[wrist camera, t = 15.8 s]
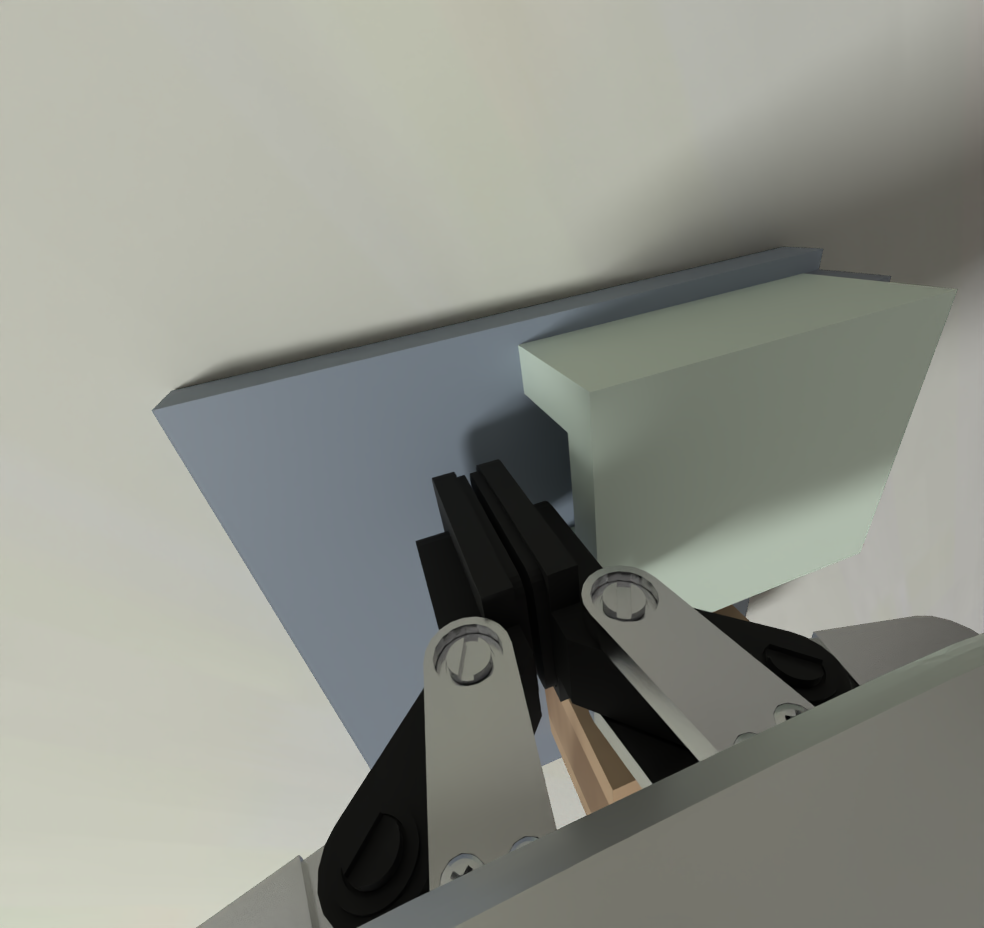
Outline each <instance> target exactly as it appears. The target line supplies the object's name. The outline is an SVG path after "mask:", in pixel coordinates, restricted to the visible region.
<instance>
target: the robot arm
mask: <svg viewBox="0 0 984 928" xmlns="http://www.w3.org/2000/svg"><path fill="white" fill-rule="evenodd" d="M470 482H471V485H470V483H469V482H468V480H467V478H466V476H465V475H462V476H459V477H457V475H456V474H455V472H451V473H447V474H443V475H440V476H436V477H433V478H432V483H433V487H434V492H435V496H436V500H437V504H438V508H439V512H440V516H441V520H442V524H443V528H444V532H443V533H439V534H436V535H433V536H430V537H427V538H423V539H420V540H417V541H415V542H416V546H417V550H418V553H419V557H420V561H421V565H422V568H423V572H424V576H425V580H426V583H427V587H428V591H429V595H430V598H431V602H432V606H433V610H434V613H435V617H436V621H437V625H438V628H439V631H438V632H437V633H436V634H435V636H434V637H433V638H432V639H431V640H430V642H429V644H428V646H427V648H426V650H425V655H424V662H423V672H424V688H423V690H422V691H421V693H420V694H419V696H418V698H417V699H416V701H415V702H414V704H413V705H412V707H411V708H410V710H409V712H408V713H407V715H406V716H405V718H404V719H403V721H402V722H401V724H400V725H399V727H398V729H397V730H396V732H395V733H394V735H393V736H392V738H391V739H390V741H389V743H388V744H387V746H386V747H385V749H384V750H383V752H382V753H381V755H380V757H379V758H378V760H377V761H376V763H375V764H374V766H373V767H372V769H371V771H370V772H369V774H368V775H367V777H366V778H365V780H364V781H363V783H362V784H361V786H360V788H359V789H358V791H357V792H356V794H355V795H354V797H353V798H352V800H351V802H350V803H349V805H348V806H347V808H346V809H345V811H344V812H343V814H342V816H341V817H340V819H339V820H338V822H337V823H336V825H335V826H334V828H333V830H332V832H331V834H330V836H329V838H328V840H327V842H326V844H325V845H324V846H323V847H321V848H320V849H318V850H317V851H316V852H314V853H313V854H311V855H310V856H309V857H307V858H306V859H304V860H303V859H302V857H301V856H300V855H298V856H297V857H295V858H294V859H293V860H291V861H290V862H288V863H287V864H286V865H284V866H283V867H281V868H280V869H279V870H277V871H276V872H274V873H273V874H271V875H270V876H269V877H267V878H266V879H264V880H263V881H262V882H260V883H259V884H257V885H256V886H255V887H253V888H252V889H250V890H249V891H247V892H246V893H245V894H243V895H242V896H240V897H239V898H238V899H236V900H235V901H233V902H232V903H231V904H229V905H228V906H226V907H225V908H223V909H222V910H221V911H219V912H218V913H216V914H215V915H214V916H212V917H211V918H209V919H208V920H207V921H205V922H204V923H202V924H201V925H199V926H198V927H197V928H984V633H982V634H978V633H976V632H975V631H973V630H971V629H970V628H967V627H965V626H963V625H960V624H958V623H956V622H953V621H951V620H947V619H943V618H938V617H934V616H912V617H906V618H899V619H893V620H886V621H880V622H873V623H867V624H860V625H854V626H847V627H841V628H834V629H828V630H821V631H815V632H813V635H812V638H809V639H808V638H807V637H804V636H801V635H798V634H795V633H792V632H789V631H785V630H781V629H777V628H773V627H769V626H765V625H761V624H757V623H753V622H749V621H745V620H741V619H737V618H733V617H729V616H725V615H721V614H717V613H713V612H708V611H704V610H700V609H696V608H693V607H691V606H690V605H689V604H688V603H687V602H685V601H684V600H683V599H682V598H680V597H679V596H678V595H677V594H675V593H674V592H673V591H672V590H671V589H669V588H668V587H667V586H666V585H664V584H663V583H662V582H661V581H659V580H658V579H657V578H656V577H654V576H653V575H651V574H649V573H648V572H646V571H644V570H641V569H638V568H635V567H630V566H622V565H619V566H608V567H605V568H602V566H601V565H600V564H599V563H598V561H597V560H596V559H595V558H594V556H593V555H592V554H591V553H590V552H589V550H588V549H587V548H586V547H585V545H584V544H583V543H582V542H581V540H580V539H579V538H578V537H577V536H576V534H575V533H574V532H573V531H572V529H571V528H570V527H569V526H568V524H567V523H566V522H565V521H564V519H563V518H562V517H561V516H560V515H559V513H558V512H557V511H556V510H555V508H554V507H553V506H552V505H551V504H550V503H549V502H548V501H542V502H539V503H536V504H532V502H531V501H530V500H529V498H528V497H527V496H526V494H525V493H524V492H523V490H522V489H521V488H520V486H519V485H518V484H517V482H516V481H515V479H514V478H513V477H512V475H511V474H510V473H509V471H508V470H507V469H506V467H505V466H504V465H503V463H502V462H501V461H500V460H499V459H497V460H493V461H490V462H486V463H483V464H479V465H476V472H473V473H470ZM537 675H538V677H539V679H540V681H541V683H542V685H543V687H544V688H545V689H548V688H550V687H554V689H555V691H556V694H557V696H558V698H559V700H560V702H562V701H565V700H567V699H569V698H570V700H571V702H572V704H575V705H577V706H580V707H583V708H585V709H588V710H589V713H590V715H591V717H592V719H593V721H594V723H595V724H596V726H597V727H598V728H599V730H600V731H601V732H602V734H603V735H604V737H605V738H606V739H607V741H608V742H609V743H610V745H611V746H612V748H613V749H614V750H615V752H616V753H617V755H618V756H619V757H620V759H621V760H622V761H623V763H624V764H625V766H626V767H627V768H628V770H629V771H630V772H631V774H632V775H633V777H634V778H635V779H636V781H637V782H638V783H639V785H640V786H641V788H642V789H641V790H639V791H637V792H635V793H633V794H631V795H629V796H627V797H624V798H622V799H620V800H618V801H616V802H614V803H612V804H610V805H608V806H606V807H604V808H601V809H599V810H597V811H595V812H593V813H591V814H589V815H587V816H585V817H583V818H581V819H578V820H576V821H574V822H572V823H570V824H568V825H566V826H564V827H562V828H560V829H558V830H557V829H556V825H555V820H554V816H553V812H552V808H551V804H550V800H549V795H548V791H547V787H546V783H545V779H544V775H543V770H542V766H541V762H540V758H539V754H538V750H537V745H536V741H535V737H534V735H535V732H536V730H537V727H538V725H539V722H540V720H541V717H542V712H541V705H540V698H539V685H538V678H537Z"/></svg>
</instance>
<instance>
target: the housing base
mask: <svg viewBox="0 0 984 928" xmlns="http://www.w3.org/2000/svg"><path fill="white" fill-rule="evenodd" d="M822 252H823V249H820V248H799V247H780V248H776V249H772V250H768V251H763V252H759V253H755V254H751V255H746V256H742V257H738V258H734V259H729V260H725V261H721V262H717V263H713V264H708V265H704V266H700V267H696V268H691V269H687V270H683V271H679V272H674V273H670V274H666V275H662V276H657V277H653V278H649V279H645V280H640V281H636V282H632V283H628V284H623V285H619V286H615V287H611V288H606V289H602V290H598V291H594V292H589V293H585V294H581V295H577V296H572V297H568V298H564V299H560V300H555V301H551V302H547V303H543V304H538V305H534V306H530V307H526V308H521V309H517V310H513V311H509V312H504V313H500V314H496V315H492V316H487V317H483V318H479V319H475V320H470V321H466V322H462V323H458V324H453V325H449V326H445V327H441V328H436V329H432V330H428V331H424V332H419V333H415V334H411V335H407V336H402V337H398V338H394V339H390V340H385V341H381V342H377V343H373V344H369V345H364V346H360V347H356V348H352V349H347V350H343V351H339V352H335V353H330V354H326V355H322V356H318V357H313V358H309V359H305V360H301V361H296V362H292V363H288V364H284V365H279V366H275V367H271V368H267V369H262V370H258V371H254V372H250V373H245V374H241V375H237V376H233V377H228V378H224V379H220V380H216V381H211V382H207V383H203V384H199V385H194V386H190V387H186V388H182V389H177V390H173V391H171V392H170V393H169V394H168V395H167V396H166V397H165V398H164V399H163V400H162V401H161V402H160V403H159V404H158V405H157V406H156V407H155V408H154V409H153V410H152V412H153V414H154V415H155V417H156V418H157V420H158V422H159V423H160V425H161V427H162V428H163V430H164V432H165V433H166V435H167V436H168V438H169V440H170V441H171V443H172V445H173V446H174V448H175V450H176V451H177V453H178V455H179V456H180V458H181V459H182V461H183V463H184V464H185V466H186V468H187V469H188V471H189V473H190V474H191V476H192V477H193V479H194V481H195V482H196V484H197V486H198V487H199V489H200V491H201V492H202V494H203V495H204V497H205V499H206V500H207V502H208V504H209V505H210V507H211V509H212V510H213V512H214V513H215V515H216V517H217V518H218V520H219V522H220V523H221V525H222V527H223V528H224V530H225V531H226V533H227V535H228V536H229V538H230V540H231V541H232V543H233V545H234V546H235V548H236V550H237V551H238V553H239V554H240V556H241V558H242V559H243V561H244V563H245V564H246V566H247V568H248V569H249V571H250V572H251V574H252V576H253V577H254V579H255V581H256V582H257V584H258V586H259V587H260V589H261V590H262V592H263V594H264V595H265V597H266V599H267V600H268V602H269V604H270V605H271V607H272V608H273V610H274V612H275V613H276V615H277V617H278V618H279V620H280V622H281V623H282V625H283V626H284V628H285V630H286V631H287V633H288V635H289V636H290V638H291V640H292V641H293V643H294V644H295V646H296V648H297V649H298V651H299V653H300V654H301V656H302V658H303V659H304V661H305V663H306V664H307V666H308V667H309V669H310V671H311V672H312V674H313V676H314V677H315V679H316V681H317V682H318V684H319V685H320V687H321V689H322V690H323V692H324V694H325V695H326V697H327V699H328V700H329V702H330V703H331V705H332V707H333V708H334V710H335V712H336V713H337V715H338V717H339V718H340V720H341V721H342V723H343V725H344V726H345V728H346V730H347V731H348V733H349V735H350V736H351V738H352V739H353V741H354V743H355V744H356V746H357V748H358V749H359V751H360V753H361V754H362V756H363V757H364V759H365V761H366V762H367V764H368V766H369V767H370V769H372V767H373V766H374V764H375V763H376V761H377V760H378V758H379V757H380V755H381V753H382V752H383V750H384V749H385V747H386V746H387V744H388V743H389V741H390V739H391V738H392V736H393V735H394V733H395V732H396V730H397V729H398V727H399V725H400V724H401V722H402V721H403V719H404V718H405V716H406V715H407V713H408V712H409V710H410V708H411V707H412V705H413V704H414V702H415V701H416V699H417V698H418V696H419V694H420V693H421V691H422V690H423V688H424V672H423V662H424V655H425V650H426V648H427V646H428V644H429V642H430V640H431V639H432V638H433V637H434V636H435V634H436V633H437V632H438V631H439V628H438V625H437V621H436V617H435V613H434V610H433V606H432V602H431V598H430V595H429V591H428V587H427V583H426V580H425V576H424V572H423V568H422V565H421V561H420V557H419V553H418V550H417V546H416V542H415V541H417V540H420V539H423V538H427V537H430V536H433V535H436V534H439V533H443V532H444V528H443V524H442V520H441V516H440V512H439V508H438V504H437V500H436V496H435V492H434V487H433V483H432V478H433V477H436V476H440V475H443V474H447V473H451V472H455V474H456V475H457V477H459V476H462V475H465V476H466V478H467V480H468V482H469V483H470V485H471V482H470V473H473V472H476V465H479V464H483V463H486V462H490V461H493V460H497V459H499V460H500V461H501V462H502V463H503V465H504V466H505V467H506V469H507V470H508V471H509V473H510V474H511V475H512V477H513V478H514V479H515V481H516V482H517V484H518V485H519V486H520V488H521V489H522V490H523V492H524V493H525V494H526V496H527V497H528V498H529V500H530V501H531V502H532V504H536V503H539V502H542V501H548V502H549V503H550V504H551V505H552V506H553V507H554V508H555V510H556V511H557V512H558V513H559V515H560V516H561V517H562V518H563V519H564V521H565V522H566V523H567V524H568V526H569V527H570V528H571V527H574V526H575V521H574V507H573V494H572V481H571V468H570V455H569V442H568V432H566V431H565V430H564V429H563V428H562V427H561V426H560V425H559V424H558V423H556V422H555V421H554V420H553V419H552V418H551V417H550V416H549V415H548V414H546V413H545V412H544V411H543V410H542V409H541V408H540V407H539V406H538V405H536V404H535V403H534V402H533V401H532V400H531V399H530V398H529V397H528V396H526V395H525V394H524V387H523V380H522V372H521V364H520V356H519V348H518V345H520V344H524V343H528V342H532V341H536V340H540V339H544V338H548V337H552V336H556V335H560V334H564V333H568V332H572V331H576V330H580V329H584V328H588V327H592V326H596V325H600V324H604V323H608V322H612V321H616V320H620V319H624V318H628V317H632V316H636V315H639V314H643V313H647V312H651V311H655V310H659V309H663V308H667V307H671V306H675V305H679V304H683V303H687V302H691V301H695V300H699V299H703V298H707V297H711V296H715V295H719V294H723V293H727V292H731V291H735V290H739V289H743V288H747V287H751V286H755V285H759V284H763V283H767V282H771V281H775V280H779V279H783V278H787V277H791V276H795V275H799V274H803V273H805V274H815V275H824V276H834V277H844V278H854V279H863V280H873V281H883V282H890V279H891V276H885V275H874V274H863V273H852V272H841V271H830V270H819V267H820V262H821V257H822ZM749 598H750V597H749ZM749 598H747V599H744V600H742V601H739V602H737V603H734V604H732V605H733V606H734V607H735V608H736V609H737V610H738V611H739V612H740V613H742V614H743V615H744V616H745V617H746V612H747V607H748V603H749ZM537 678H538V685H539V698H540V705H541V712H542V717H541V720H540V722H539V725H538V727H537V730H536V732H535V735H534V737H535V741H536V745H537V750H538V754H539V758H540V762H541V766H543V765H545V764H548V763H550V762H552V761H555V760H557V759H559V758H561V757H562V756H561V754H560V751H559V749H558V746H557V744H556V742H555V739H554V737H553V735H552V732H551V727H550V720H549V714H548V708H547V701H546V695H545V689H544V687H543V685H542V683H541V681H540V679H539V677H538V675H537Z"/></svg>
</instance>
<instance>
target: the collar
mask: <svg viewBox="0 0 984 928" xmlns="http://www.w3.org/2000/svg"><path fill="white" fill-rule="evenodd" d="M713 613H717V614H721V615H725V616H729V617H733V618H737V619H741V620H745V621H749V620H748V619H747V618H746V617H745V616H744V615H743V614H742V613H740V612H739V611H738V610H737V609H736V608H735V607H734V606H733V605H729V606H727V607H724V608H722V609H719V610H717V611H714V612H713ZM749 622H750V621H749ZM544 689H545V688H544ZM545 695H546V701H547V708H548V714H549V720H550V727H551V732H552V735H553V737H554V739H555V742H556V744H557V746H558V749H559V751H560V754H561V756H562V758H563V761H564V763H565V765H566V768H567V770H568V773H569V775H570V777H571V780H572V782H573V784H574V787H575V789H576V791H577V794H578V796H579V799H580V801H581V803H582V806H583V808H584V810H585V813H586V815H589V814H591V813H593V812H595V811H597V810H599V809H601V808H604V807H606V806H608V805H610V804H612V803H614V802H616V801H618V800H620V799H622V798H624V797H627V796H629V795H631V794H633V793H635V792H637V791H639V790H641V789H642V788H641V786H640V785H639V783H638V782H637V781H636V779H635V778H634V777H633V775H632V774H631V772H630V771H629V770H628V768H627V767H626V766H625V764H624V763H623V761H622V760H621V759H620V757H619V756H618V755H617V753H616V752H615V750H614V749H613V748H612V746H611V745H610V743H609V742H608V741H607V739H606V738H605V737H604V735H603V734H602V732H601V731H600V730H599V728H598V727H597V726H596V724H595V723H594V721H593V719H592V717H591V715H590V713H589V710H588V709H585V708H583V707H580V706H577V705H575V704H572V702H571V700H570V698H569V699H567V700H565V701H562V702H560V700H559V698H558V696H557V694H556V691H555V689H554V687H550V688H548V689H545Z"/></svg>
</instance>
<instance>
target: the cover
mask: <svg viewBox="0 0 984 928" xmlns="http://www.w3.org/2000/svg"><path fill="white" fill-rule="evenodd" d="M957 290H958V289H951V288H942V287H932V286H922V285H912V284H902V283H893V282H883V281H873V280H863V279H854V278H844V277H834V276H824V275H815V274H805V273H803V274H799V275H795V276H791V277H787V278H783V279H779V280H775V281H771V282H767V283H763V284H759V285H755V286H751V287H747V288H743V289H739V290H735V291H731V292H727V293H723V294H719V295H715V296H711V297H707V298H703V299H699V300H695V301H691V302H687V303H683V304H679V305H675V306H671V307H667V308H663V309H659V310H655V311H651V312H647V313H643V314H639V315H636V316H632V317H628V318H624V319H620V320H616V321H612V322H608V323H604V324H600V325H596V326H592V327H588V328H584V329H580V330H576V331H572V332H568V333H564V334H560V335H556V336H552V337H548V338H544V339H540V340H536V341H532V342H528V343H524V344H520V345H518V348H519V356H520V364H521V372H522V380H523V387H524V394H525V395H526V396H528V397H529V398H530V399H531V400H532V401H533V402H534V403H535V404H536V405H538V406H539V407H540V408H541V409H542V410H543V411H544V412H545V413H546V414H548V415H549V416H550V417H551V418H552V419H553V420H554V421H555V422H556V423H558V424H559V425H560V426H561V427H562V428H563V429H564V430H565V431H566V432H568V442H569V455H570V468H571V481H572V494H573V507H574V521H575V526H574V527H571V529H572V531H573V532H574V533H575V534H576V536H577V537H578V538H579V539H580V540H581V542H582V543H583V544H584V545H585V547H586V548H587V549H588V550H589V552H590V553H591V554H592V555H593V556H594V558H595V559H596V560H597V561H598V563H599V564H600V565H601V566H602V568H605V567H608V566H619V565H622V566H630V567H635V568H638V569H641V570H644V571H646V572H648V573H649V574H651V575H653V576H654V577H656V578H657V579H658V580H659V581H661V582H662V583H663V584H664V585H666V586H667V587H668V588H669V589H671V590H672V591H673V592H674V593H675V594H677V595H678V596H679V597H680V598H682V599H683V600H684V601H685V602H687V603H688V604H689V605H690V606H691V607H693V608H696V609H700V610H704V611H708V612H714V611H717V610H719V609H722V608H724V607H727V606H729V605H732V604H734V603H737V602H739V601H742V600H744V599H747V598H749V597H752V596H754V595H757V594H759V593H762V592H764V591H767V590H769V589H772V588H774V587H777V586H779V585H782V584H784V583H787V582H789V581H792V580H794V579H797V578H799V577H802V576H804V575H806V574H809V573H811V572H814V571H816V570H819V569H821V568H824V567H826V566H829V565H831V564H834V563H836V562H839V561H841V560H844V559H846V558H849V557H851V556H854V555H856V554H859V553H860V551H861V549H862V546H863V543H864V541H865V538H866V535H867V533H868V530H869V527H870V524H871V522H872V519H873V516H874V514H875V511H876V508H877V506H878V503H879V500H880V497H881V495H882V492H883V489H884V487H885V484H886V481H887V479H888V476H889V473H890V471H891V468H892V465H893V462H894V460H895V457H896V454H897V452H898V449H899V446H900V444H901V441H902V438H903V435H904V433H905V430H906V427H907V425H908V422H909V419H910V417H911V414H912V411H913V408H914V406H915V403H916V400H917V398H918V395H919V392H920V390H921V387H922V384H923V382H924V379H925V376H926V373H927V371H928V368H929V365H930V363H931V360H932V357H933V355H934V352H935V349H936V346H937V344H938V341H939V338H940V336H941V333H942V330H943V328H944V325H945V322H946V319H947V317H948V314H949V311H950V309H951V306H952V303H953V301H954V298H955V295H956V293H957Z"/></svg>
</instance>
